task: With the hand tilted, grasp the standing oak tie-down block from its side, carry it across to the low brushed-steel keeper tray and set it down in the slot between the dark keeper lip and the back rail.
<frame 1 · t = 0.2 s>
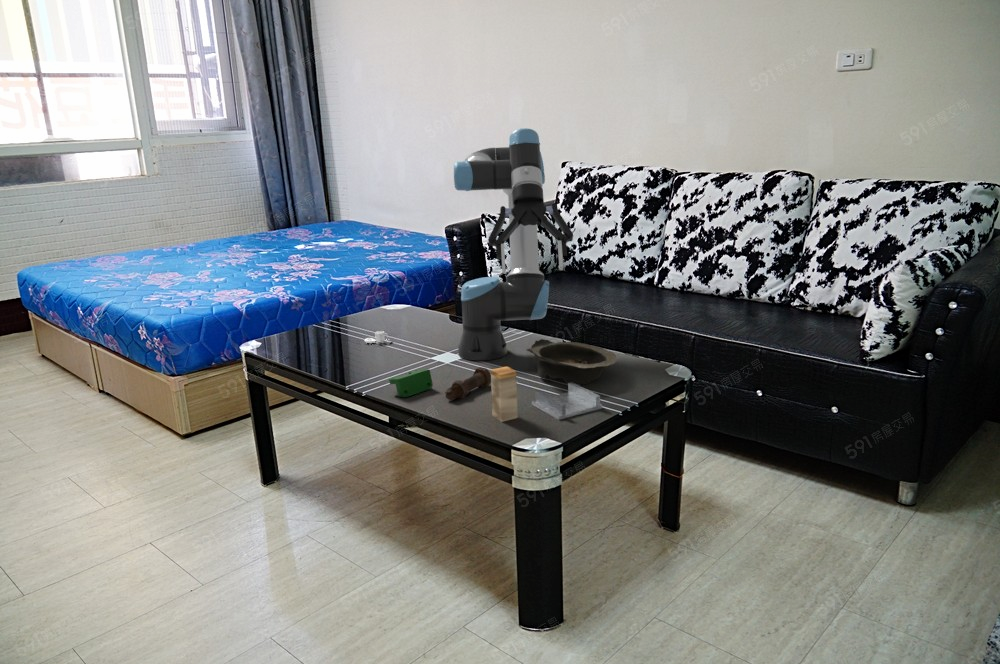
hand: (532, 270, 177), 36 cm above the table, tool tilted 35°, fingers open, 13 cm apart
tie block: (504, 416, 183), on the table
bolt: (467, 394, 200), on the table
teacup and saucer: (377, 342, 250), on the table
green notched mounting bracket: (411, 392, 203), on the table
stone bowl: (573, 376, 210), on the table
keeper bracket: (564, 407, 188), on the table
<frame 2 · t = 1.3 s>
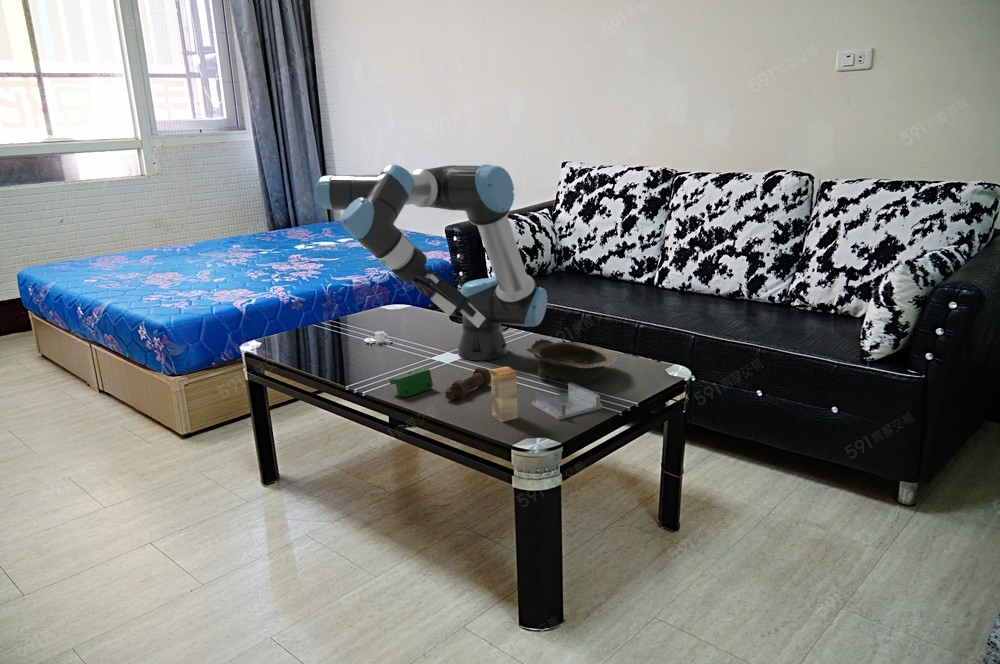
hand: (466, 317, 171), 27 cm above the table, tool tilted 45°, fingers open, 13 cm apart
nothing on the table moved.
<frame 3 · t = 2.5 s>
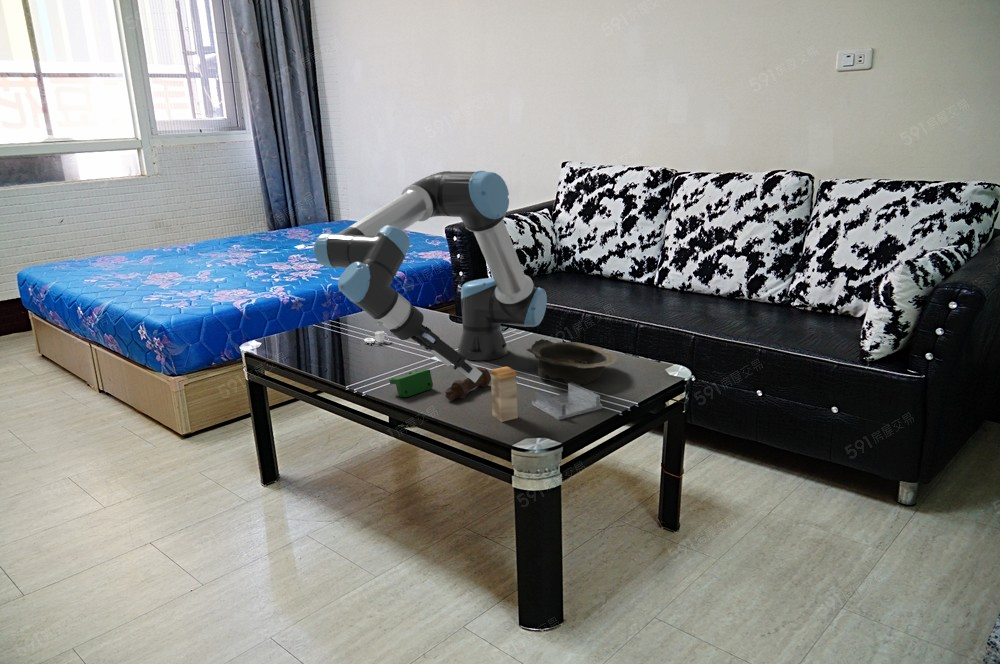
hand: (464, 369, 174), 14 cm above the table, tool tilted 45°, fingers open, 13 cm apart
nothing on the table moved.
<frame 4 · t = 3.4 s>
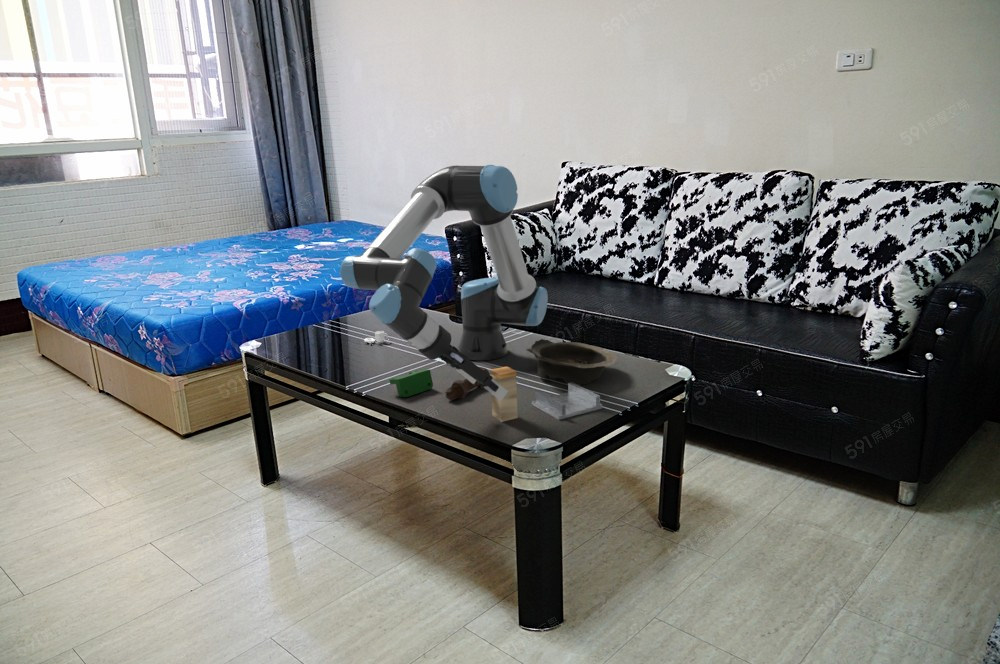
hand: (489, 387, 178), 9 cm above the table, tool tilted 45°, fingers open, 13 cm apart
nothing on the table moved.
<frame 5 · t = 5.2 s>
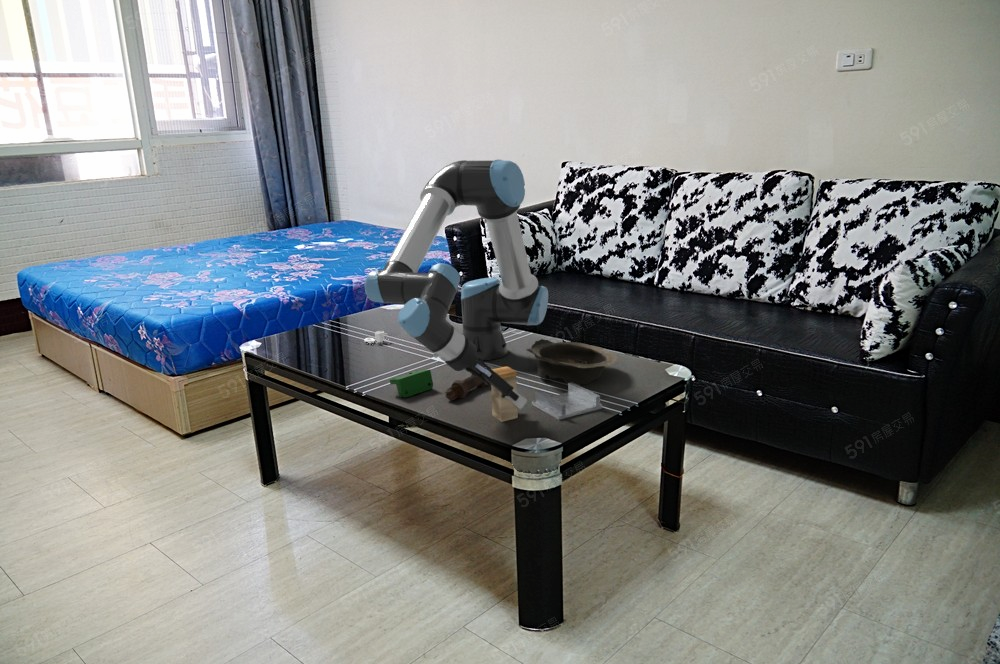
hand: (517, 401, 184), 3 cm above the table, tool tilted 45°, fingers closed on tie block, 4 cm apart
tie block: (504, 416, 183), on the table, touching gripper
everything else where it was.
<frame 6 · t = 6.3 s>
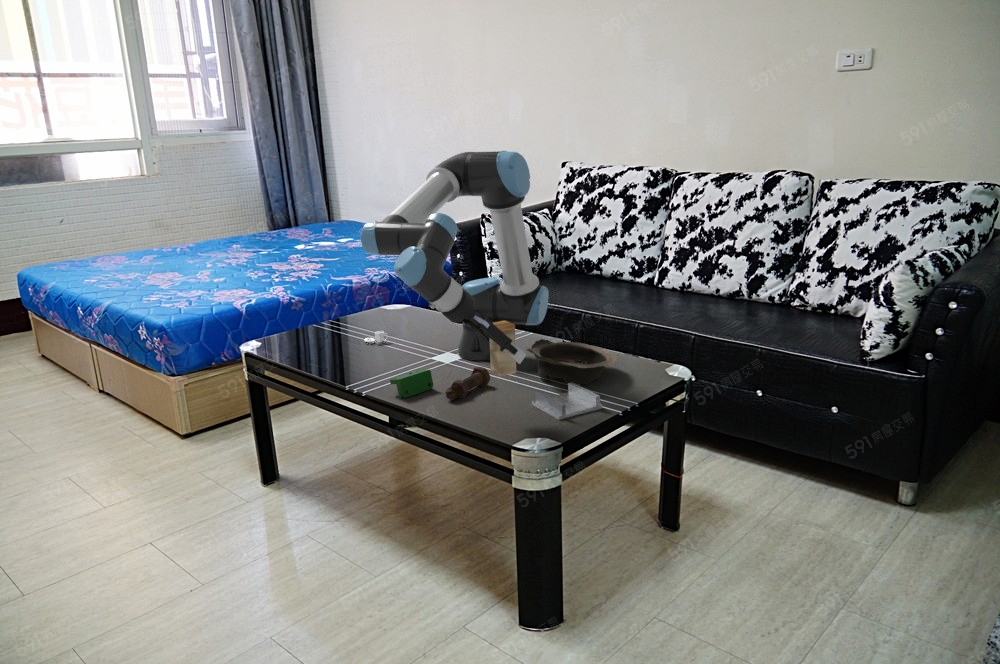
hand: (516, 356, 181), 15 cm above the table, tool tilted 45°, fingers closed on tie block, 4 cm apart
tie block: (503, 372, 180), point 12 cm above the table, touching gripper
everything else where it was.
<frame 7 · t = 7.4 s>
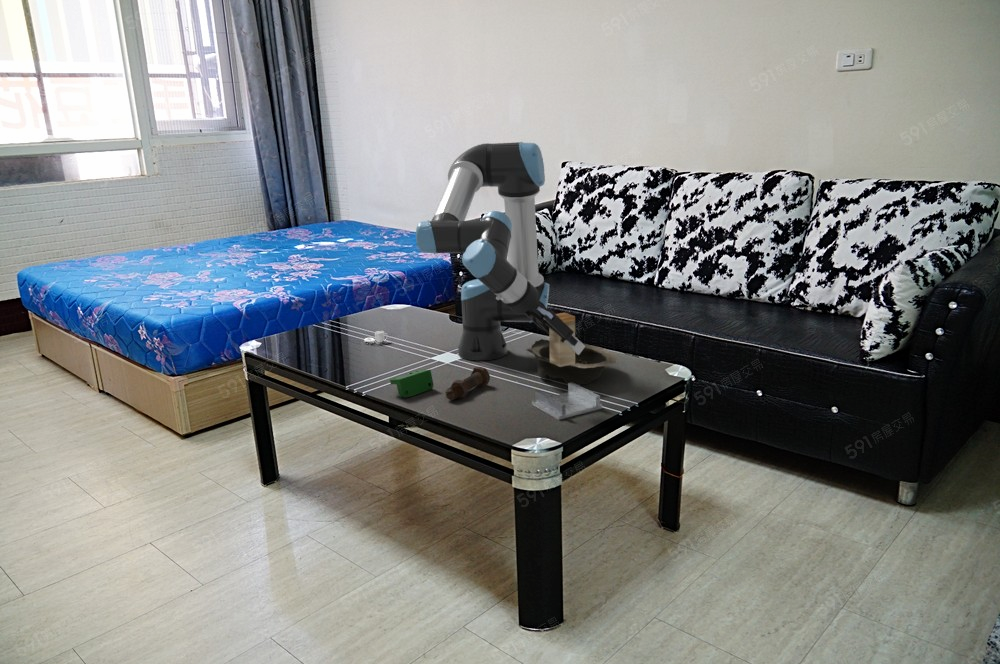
hand: (575, 347, 185), 15 cm above the table, tool tilted 45°, fingers closed on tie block, 4 cm apart
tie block: (562, 362, 185), point 12 cm above the table, touching gripper
everything else where it was.
when the fingers open (6 cm above the table, at t = 9.4 s): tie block drops 1 cm, resting on keeper bracket.
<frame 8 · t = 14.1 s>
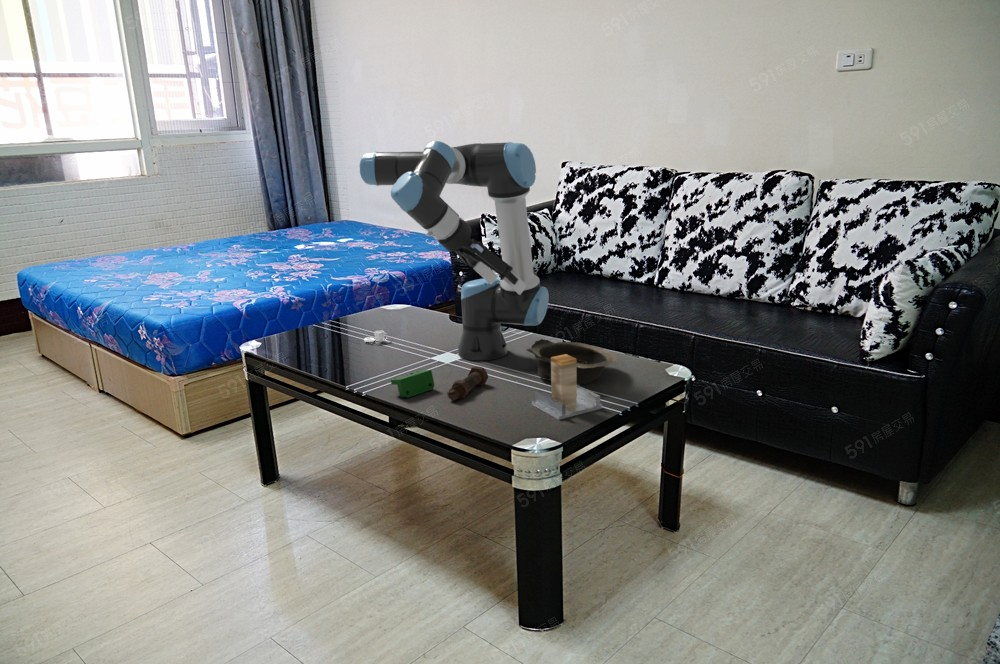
hand: (508, 285, 180), 32 cm above the table, tool tilted 45°, fingers open, 13 cm apart
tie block: (564, 403, 188), point 1 cm above the table, touching keeper bracket
everything else where it was.
at the end: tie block inside the target area on the keeper bracket (0.8 cm from its centre), point 1.0 cm above the keeper bracket's base; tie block tilted 0°; the gripper is holding nothing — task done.
